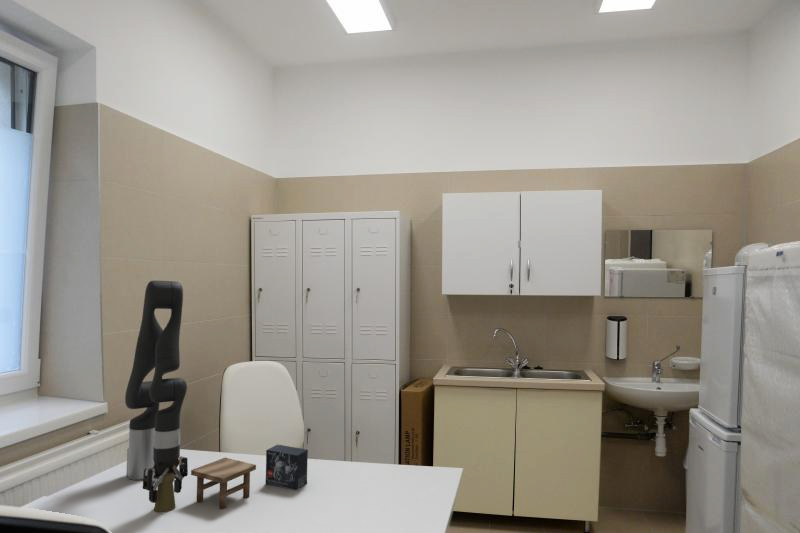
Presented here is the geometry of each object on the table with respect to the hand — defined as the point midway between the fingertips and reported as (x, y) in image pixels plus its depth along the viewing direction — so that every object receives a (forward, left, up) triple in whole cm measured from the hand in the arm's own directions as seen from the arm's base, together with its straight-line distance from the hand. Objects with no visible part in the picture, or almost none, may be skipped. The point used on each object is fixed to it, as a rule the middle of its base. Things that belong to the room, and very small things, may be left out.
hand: (165, 497), depth 162 cm
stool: (+10, +14, -3) cm, 17 cm away
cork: (0, 0, -4) cm, 4 cm away
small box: (+19, +34, -4) cm, 39 cm away
